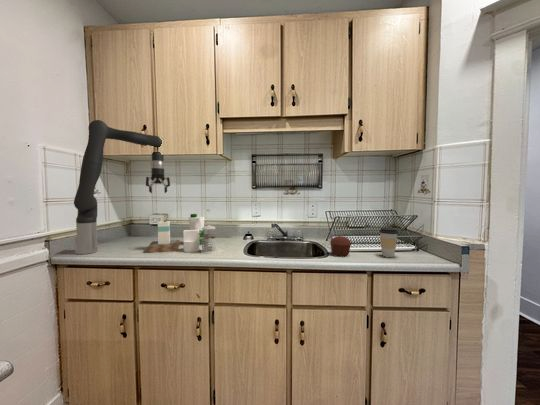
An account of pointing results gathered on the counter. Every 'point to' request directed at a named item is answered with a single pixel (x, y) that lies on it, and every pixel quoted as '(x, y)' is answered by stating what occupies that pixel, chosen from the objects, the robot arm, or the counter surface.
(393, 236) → the coffee cup
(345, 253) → the muffin
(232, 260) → the counter surface
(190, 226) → the milk carton
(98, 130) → the robot arm
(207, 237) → the french press
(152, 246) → the brown shallow square tray
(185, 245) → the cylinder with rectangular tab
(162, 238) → the cream carton
